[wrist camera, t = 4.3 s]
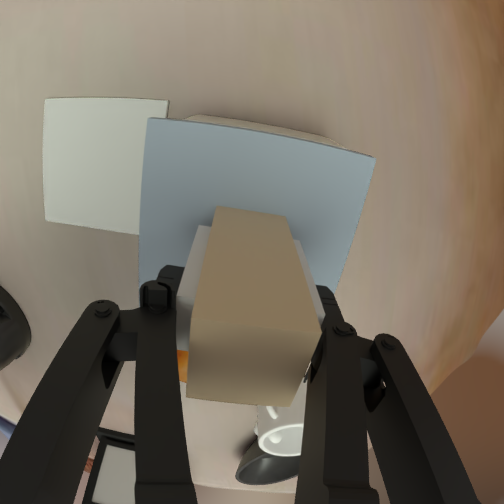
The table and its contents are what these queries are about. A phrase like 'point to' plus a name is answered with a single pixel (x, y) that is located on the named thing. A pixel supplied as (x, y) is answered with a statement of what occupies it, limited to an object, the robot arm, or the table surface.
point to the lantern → (112, 470)
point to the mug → (282, 426)
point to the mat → (96, 160)
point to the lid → (249, 246)
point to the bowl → (266, 467)
